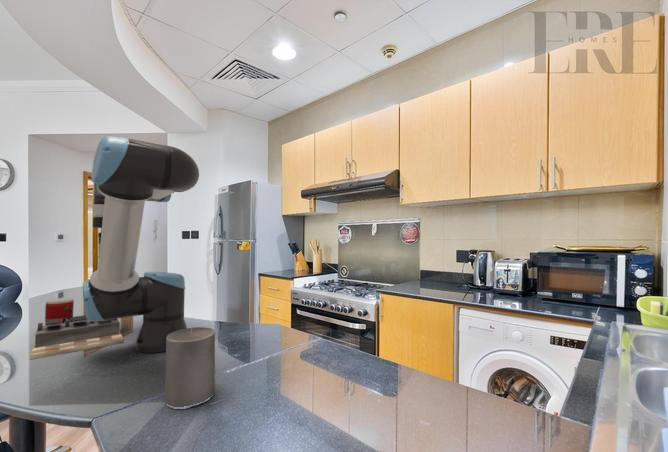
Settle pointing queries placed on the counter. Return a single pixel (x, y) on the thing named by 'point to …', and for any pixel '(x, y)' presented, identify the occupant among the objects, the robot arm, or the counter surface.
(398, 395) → the counter surface
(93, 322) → the switch unit
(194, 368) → the pillar candle
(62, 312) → the canned food
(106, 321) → the rocker
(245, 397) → the counter surface
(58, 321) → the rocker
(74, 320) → the rocker middle
